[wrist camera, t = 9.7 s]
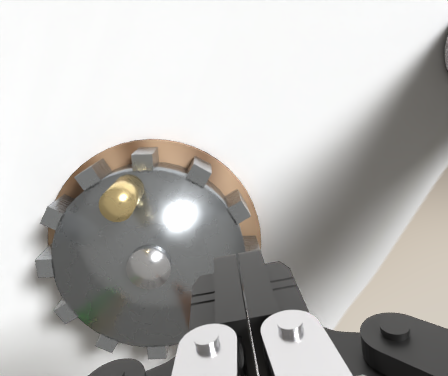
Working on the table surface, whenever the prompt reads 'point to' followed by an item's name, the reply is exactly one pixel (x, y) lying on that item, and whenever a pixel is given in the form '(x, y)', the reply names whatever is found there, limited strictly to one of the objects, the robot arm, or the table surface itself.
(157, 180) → the sprocket wheel
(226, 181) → the sprocket base
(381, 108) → the table surface
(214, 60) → the table surface
